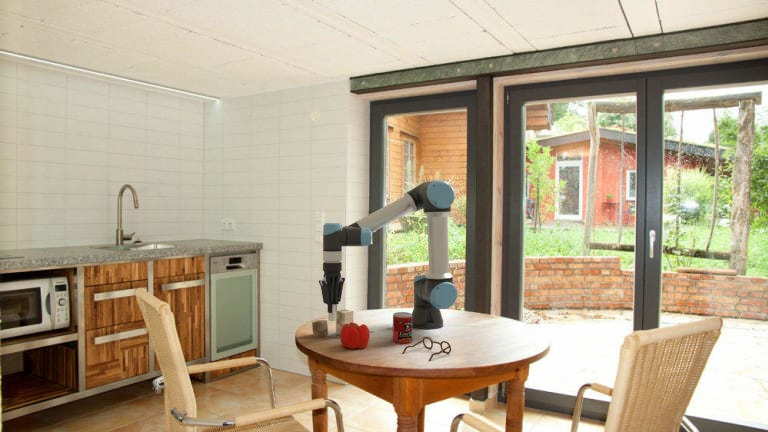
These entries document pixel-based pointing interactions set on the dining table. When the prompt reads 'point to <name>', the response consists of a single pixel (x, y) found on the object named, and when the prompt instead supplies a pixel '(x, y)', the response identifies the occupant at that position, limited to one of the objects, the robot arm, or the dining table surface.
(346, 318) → the birch block
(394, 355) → the dining table surface
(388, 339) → the dining table surface
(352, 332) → the tomato
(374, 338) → the dining table surface
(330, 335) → the rubber mat
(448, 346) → the glasses
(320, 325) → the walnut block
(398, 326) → the canned food
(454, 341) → the dining table surface
